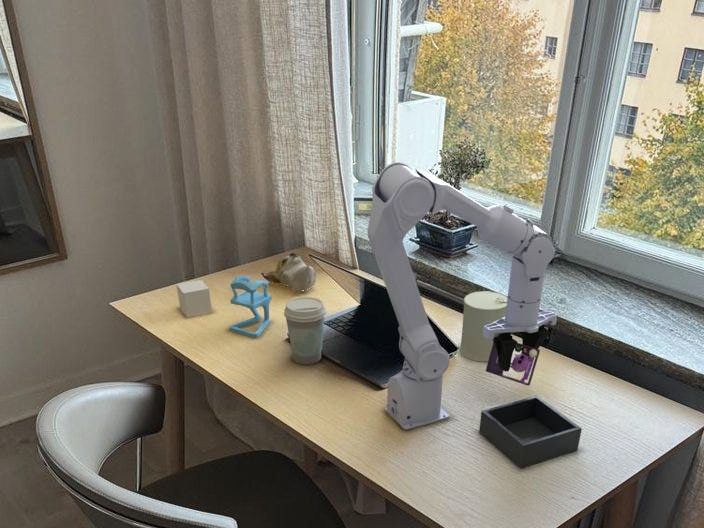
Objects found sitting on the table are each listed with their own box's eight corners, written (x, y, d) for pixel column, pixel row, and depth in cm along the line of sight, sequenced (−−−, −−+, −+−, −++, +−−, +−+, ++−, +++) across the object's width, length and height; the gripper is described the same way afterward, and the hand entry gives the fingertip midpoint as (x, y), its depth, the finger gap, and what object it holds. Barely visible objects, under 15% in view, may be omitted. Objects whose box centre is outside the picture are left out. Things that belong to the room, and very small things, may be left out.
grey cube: (179, 308, 184) (176, 284, 180) (204, 303, 186) (201, 279, 182) (187, 317, 179) (183, 293, 176) (212, 312, 181) (209, 288, 178)
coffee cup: (280, 363, 160) (276, 309, 153) (297, 346, 167) (294, 293, 160) (317, 370, 158) (315, 315, 151) (334, 352, 164) (332, 298, 157)
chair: (278, 324, 176) (275, 273, 168) (256, 338, 170) (251, 286, 163) (251, 317, 179) (247, 266, 172) (228, 330, 173) (223, 279, 166)
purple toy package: (493, 336, 142) (537, 350, 137) (505, 335, 146) (549, 349, 142) (483, 371, 144) (527, 386, 140) (495, 370, 148) (538, 384, 144)
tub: (520, 468, 129) (523, 446, 126) (478, 432, 138) (481, 410, 135) (577, 451, 133) (582, 428, 130) (533, 417, 142) (537, 395, 139)
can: (502, 363, 159) (509, 308, 152) (457, 359, 161) (462, 305, 154) (504, 343, 166) (510, 290, 159) (461, 340, 168) (465, 287, 161)
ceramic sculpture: (289, 264, 181) (256, 250, 191) (292, 300, 186) (260, 285, 196) (326, 255, 186) (292, 242, 196) (328, 290, 191) (295, 275, 201)
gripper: (502, 313, 130) (494, 384, 138) (572, 297, 135) (560, 367, 143) (479, 298, 135) (472, 367, 143) (547, 283, 140) (536, 351, 148)
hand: (514, 366), depth 143 cm, fingers closed on purple toy package, 4 cm apart
